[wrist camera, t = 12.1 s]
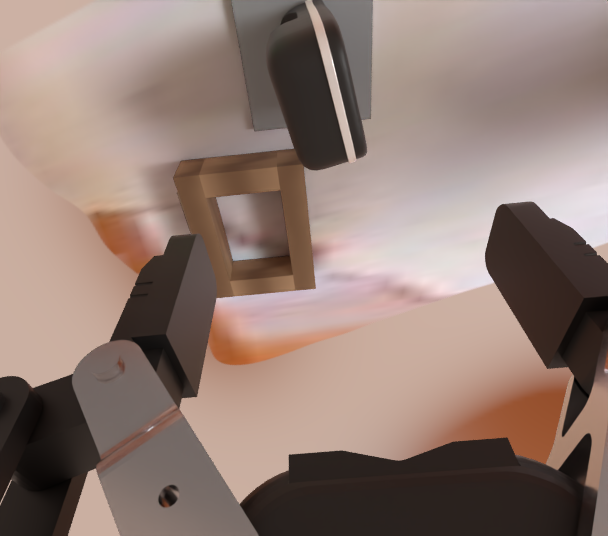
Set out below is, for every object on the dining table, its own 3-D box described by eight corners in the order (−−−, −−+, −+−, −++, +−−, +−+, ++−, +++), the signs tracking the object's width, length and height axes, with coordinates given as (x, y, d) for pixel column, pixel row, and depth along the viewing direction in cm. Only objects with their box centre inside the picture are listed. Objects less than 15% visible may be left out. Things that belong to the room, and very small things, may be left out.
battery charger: (263, 12, 25) (252, 51, 16) (320, -9, 25) (340, 19, 16) (297, 116, 30) (302, 190, 21) (345, 100, 29) (372, 169, 20)
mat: (371, -29, 25) (373, -28, 24) (369, 116, 30) (370, 118, 30) (230, -12, 25) (229, -11, 24) (255, 128, 31) (254, 131, 30)
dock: (301, 148, 32) (303, 164, 29) (313, 268, 40) (315, 288, 38) (178, 161, 32) (170, 178, 30) (215, 278, 40) (211, 298, 38)
